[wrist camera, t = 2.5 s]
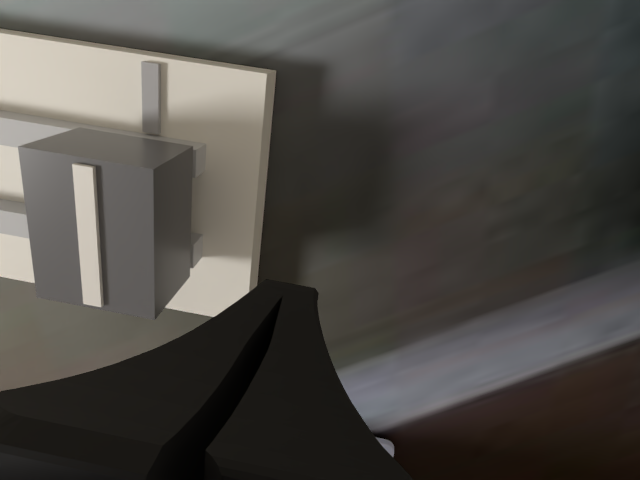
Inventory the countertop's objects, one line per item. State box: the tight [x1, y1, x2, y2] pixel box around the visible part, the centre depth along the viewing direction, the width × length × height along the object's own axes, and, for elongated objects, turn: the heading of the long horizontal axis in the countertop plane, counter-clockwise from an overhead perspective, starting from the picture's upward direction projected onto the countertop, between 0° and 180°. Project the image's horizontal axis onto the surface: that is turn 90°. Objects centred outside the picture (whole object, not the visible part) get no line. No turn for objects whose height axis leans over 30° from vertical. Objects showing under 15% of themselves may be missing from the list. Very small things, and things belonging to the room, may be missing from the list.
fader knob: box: [18, 127, 193, 320], centre depth 16 cm, size 4×5×4 cm
